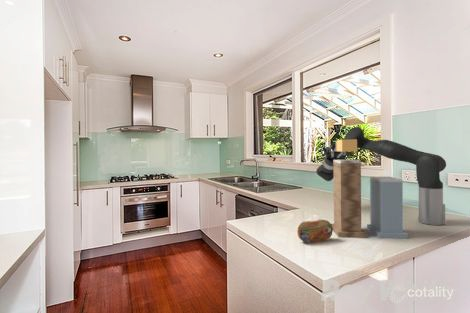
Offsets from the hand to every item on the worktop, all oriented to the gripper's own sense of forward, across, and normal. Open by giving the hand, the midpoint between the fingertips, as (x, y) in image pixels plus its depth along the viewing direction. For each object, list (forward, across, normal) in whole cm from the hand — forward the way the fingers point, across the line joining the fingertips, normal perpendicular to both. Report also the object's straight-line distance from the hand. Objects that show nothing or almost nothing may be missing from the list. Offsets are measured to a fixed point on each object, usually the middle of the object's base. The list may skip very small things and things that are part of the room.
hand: (339, 144), depth 115 cm
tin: (-1, -16, +45) cm, 48 cm away
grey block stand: (-11, +16, +39) cm, 43 cm away
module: (+2, 0, +5) cm, 6 cm away
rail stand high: (-11, 0, +39) cm, 40 cm away
